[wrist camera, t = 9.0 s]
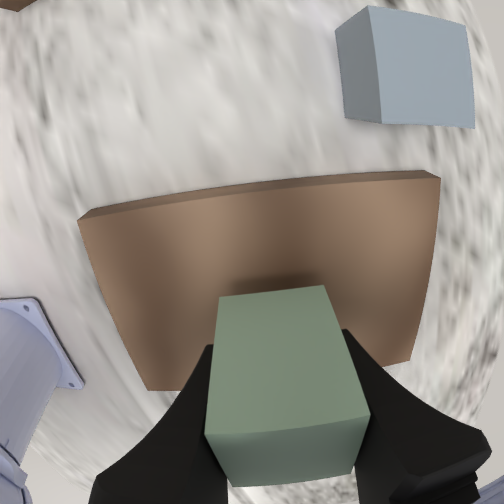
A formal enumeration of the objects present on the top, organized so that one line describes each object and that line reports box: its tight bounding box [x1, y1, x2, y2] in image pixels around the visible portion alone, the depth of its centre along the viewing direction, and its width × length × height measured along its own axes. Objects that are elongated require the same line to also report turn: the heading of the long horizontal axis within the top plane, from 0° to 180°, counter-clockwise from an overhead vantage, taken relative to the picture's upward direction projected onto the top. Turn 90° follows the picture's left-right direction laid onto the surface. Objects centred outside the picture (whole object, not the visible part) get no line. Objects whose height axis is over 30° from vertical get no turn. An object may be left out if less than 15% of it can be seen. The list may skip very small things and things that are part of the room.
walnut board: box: [77, 170, 441, 391], centre depth 15 cm, size 16×11×2 cm
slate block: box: [335, 6, 475, 129], centre depth 9 cm, size 4×4×4 cm
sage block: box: [205, 285, 371, 487], centre depth 10 cm, size 4×4×6 cm
